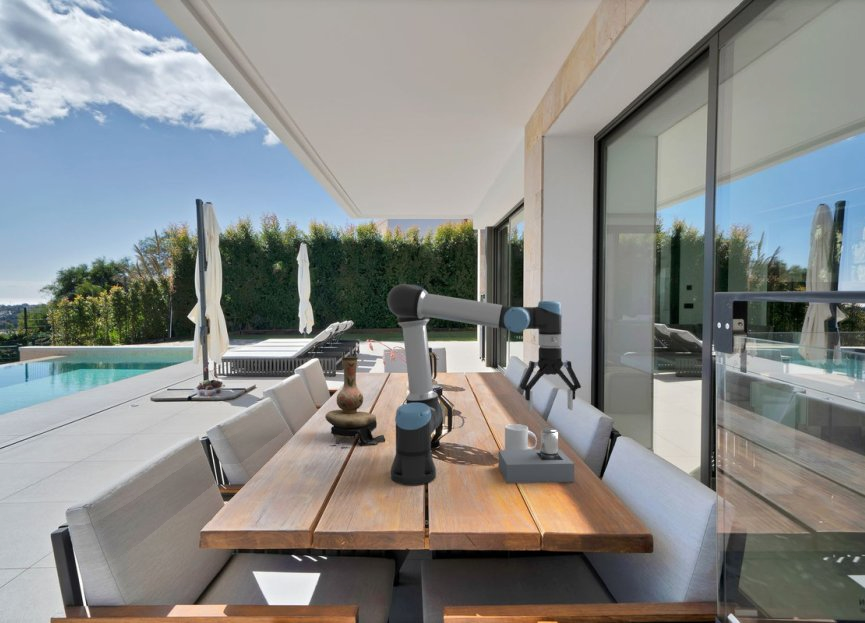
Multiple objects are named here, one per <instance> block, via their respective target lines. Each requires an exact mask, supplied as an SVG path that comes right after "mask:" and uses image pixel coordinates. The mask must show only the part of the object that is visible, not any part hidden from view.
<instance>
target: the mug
mask: <svg viewBox="0 0 865 623" xmlns="http://www.w3.org/2000/svg"><path fill="white" fill-rule="evenodd" d="M529 436H531V437H533V438H534V439H535V443H534V445H533V446H529ZM537 443H538V439H537V436H536V434H535V433H534V432H532V431H531V430H529V426H528V425H525V424H519V423H511V424H509V423H508V424H506V425H505V426H504V450H536V448H537Z"/></svg>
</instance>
